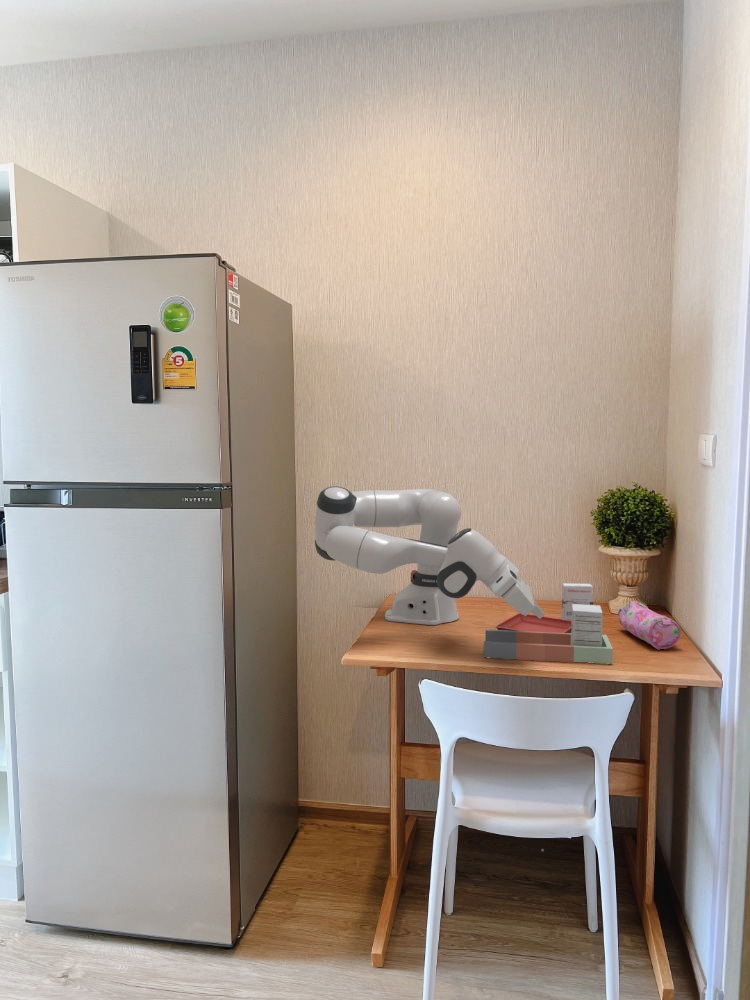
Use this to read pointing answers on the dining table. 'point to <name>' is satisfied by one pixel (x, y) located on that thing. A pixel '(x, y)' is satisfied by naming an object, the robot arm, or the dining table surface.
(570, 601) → the ink box
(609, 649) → the channel
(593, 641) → the supplement box
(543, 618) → the plant saucer
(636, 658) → the dining table surface
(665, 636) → the pencil case
